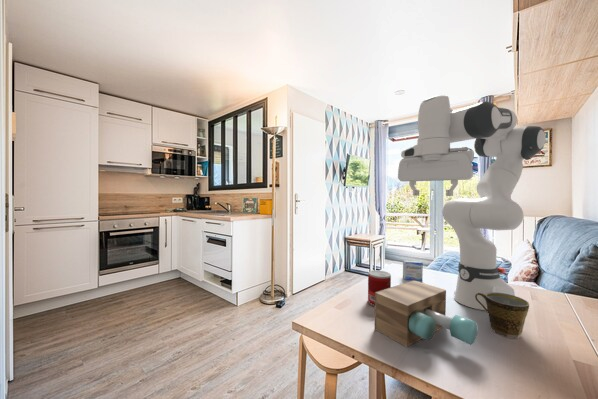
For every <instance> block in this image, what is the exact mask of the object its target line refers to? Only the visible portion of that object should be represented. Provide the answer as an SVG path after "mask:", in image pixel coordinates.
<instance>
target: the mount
mask: <svg viewBox="0 0 598 399" xmlns="http://www.w3.org/2000/svg"><path fill="white" fill-rule="evenodd" d="M446 301H447V289H443V288H440V287H437V286H435V285H431V284H427V283H424V282H422V281H415V280H413V281H412V280H409V281H407V282H404V283H401V284H398V285H395V286H391V288H388V289H384V290H381V291H378V292H375V306H374V330H375V331H378V332H379V333H382V334H383V335H385V336H386V337H388V338H390V339H391V340H394V341H395V342H397V343H399V344H401V345H403V346H404V347H406V348H407V347H409V346H411V345H412V344H415V343H416V342H419V341H420V340H421V339H424V340H427V341H428V340H431V338H432V337H433V336H434V333H435V332H437V331H438V330H440V329H442V328H443V327H442V326H439V325H437V324H435V320H434V319H433V318H432V317H430V316H427V315H425V314H424V309H425V308H427V309H429V310H432V311H434V312H437V313H440V314H442V315H445V316H447V314H446V313H447V312H446V311H447V310H446V303H447V302H446Z"/></svg>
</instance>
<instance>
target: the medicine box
mask: <svg viewBox="0 0 598 399" xmlns="http://www.w3.org/2000/svg"><path fill="white" fill-rule="evenodd" d="M423 264H424V263H423V262H422V261H421V260H412V259H411V260H406V259H403V260H402V278H403V279H404V280H405V281H413V280H415V281H418V282H422V281H423V274H424V273H423V271H424V270H423V269H424V268H423Z"/></svg>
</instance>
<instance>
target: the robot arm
mask: <svg viewBox="0 0 598 399" xmlns="http://www.w3.org/2000/svg"><path fill="white" fill-rule="evenodd" d="M517 122H518V117H517V114H516V113H515V112H514V111H513V110H511V109H509V108H505V107H498V106H497V105H495V103H492V102H490V101H482V102H479V103H475V104H473V105H470V106H467V107H464V108H460V109H457V110H453V109H452V108H451V104H450V97H449V96H448V95H446V94H441V95H440V94H439V95H435V96H434V95H433V96H432V97H429V98H426V99H424V100H423V101H422V102H421V103H420V105H419V110H418V117H417V130H418V137H417V144H416V145H414V146H411V147H409V148H406V149H404V150H402V151H401V153H400V155H401V158H402V159H401V160H400V161H399V163H398V164H399V165H398V169H397V170H398V171H397V179H398V181H400V182H408V184H409V187H410V188H411V189H412V196H417V197H418V196H420V193H421V192H420V189H417V188H416V185H417V182H432V181H433V182H434V181H435V182H436V181H437V182H438V181H440V182H441V181H450V184H451V186H450V188H449V189H446V190H445V191H446V192H445V196H446V197H453V196H454V191H455V189H456V187H457V186H458V185H459V181H468V180H469V181H470V180H471V179H472V178H473V177H474V169H473V160H474V159H475V156H474V155H475V153H476V154H477V155H478V156H479V157H482V158H493V157H494V158H496V159H495V160H494V161H493V162H492V163H491V164H490V166H488V168H487V169H486V171H484V173H483V175H482V177H481V178H480V180H479V181H478V183H477V185H476V193H477V194H478V195H479V197H480V198H457V199H455V198H454V199H451V200H448V201H446V202H445V203H444V205H443V207H442V217H443V219H444V220H445V222H446V223H448V224H449V225H450V227H451V228H452V229H453V231H454V232H455V235H456V236H457V239H458V243H459V262H458V266H457V268H458V269H457V271H458V275H457V280H456V286H455V287H456V288H455V290H454V293H453V294H454V297H453V299H454V300H455V301H456V302H457V303H459V304H461V305H463V306H466V307H469V308H473V309H475V310H480V311H486V310H485V309H484V308H483V306H482V305H481V304H480V303H479V302H478V301H477V300H476V298H475V295H476V294H477V293H482V294H484V295H485V294H486V293H490V292H497V293H505V294H509V295H513V296H516V294H515V293H516V292H515V289H514V288H513V287H512V286H511V285H510V284H508V283H507V281H504V280H503V278H501V275H504V274H506V268H505V267H499V266H498V267H497V251H498V250H497V247H496V245H495V244H494V242H492V241H491V240H489V239H488V238H486V237H485V236H484V234H483V232H482V230H481V229H483V230H490V231H511V230H512V231H513V230H515V229H518V227H520V225H521V224H522V223H523V221H524V220H523V219H524V211H523V209H522V207H521V206H520V204H519V203H518V202H516V201H514V200H513V199H512V197H511V196H512V194H513V192H514V189H515V188H516V186H517V185H518V182H519V181H520V178H521V176H522V173H523V170H524V169H523V167H524V164H523V161H524V160H525V161H529V160H531V159H532V158H533V156H536V155H537V154H538V153H540V152H541V151H542V150H543V148H544V146H545V143H546V139H547V138H546V137H547V136H546V132H545V130H544V128H542V127H541V126H537V125H536V126H535V125H527V126H518V127H516V125H517ZM469 140H475V141H474V146H473V147H474V150H473V149H472V148H469V147H467V146H462V147H453V148H451V144H452V143H457V142H463V141H469ZM474 151H475V152H474ZM500 274H501V275H500ZM477 299H478V300H479V301H480V302H481V303H482V304H483V305H484V306H485V308H486V309H487V304H486V300H485V299H484V298H483V297H482V296H481V295H477ZM487 310H488V309H487Z"/></svg>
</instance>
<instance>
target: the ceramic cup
mask: <svg viewBox="0 0 598 399" xmlns="http://www.w3.org/2000/svg"><path fill="white" fill-rule="evenodd" d="M477 295H481V296H482V297H483V298H484V299H485V300H486V304H487V309H488V310H487V309H486V308H485V306H484V305H483V304H482V303H481V302H480V301H479V300H478V299H477ZM475 298H476V300H477V301H478V302H479V303H480V304H481V305H482V306H483V308H484V309H485V310H484V311H486V312H487V314H488V319H489V326H490V329H491V330H492V331H493V332H494V333H495V334H497V335H500V336H501V337H505V338H507V339H516V340H517V339H519V338H520V337H521V336H522V333H523V329H524V325H525V321H526V318H527V316H528V312H529V309H530V308H529V307H530V303H529V301H528V300H526V299H524V298H522V297H519V296H516V295H515V296H513V295H509V294H505V293H497V292H490V293H486V294H485V295H484V294H482V293H477V294H476V295H475Z"/></svg>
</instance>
